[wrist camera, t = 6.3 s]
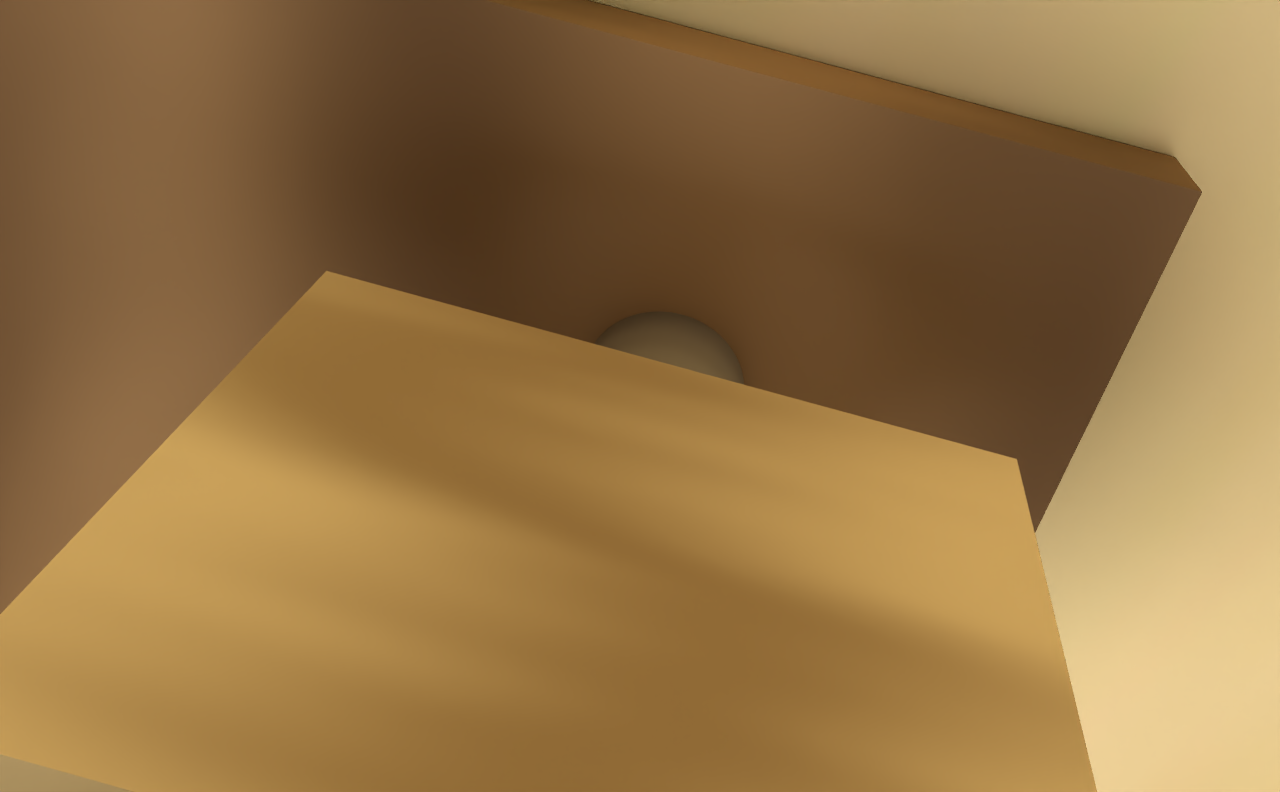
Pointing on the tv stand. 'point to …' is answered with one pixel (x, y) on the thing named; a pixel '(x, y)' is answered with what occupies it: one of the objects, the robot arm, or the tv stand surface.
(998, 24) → the tv stand surface
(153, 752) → the hollow wooden box
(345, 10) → the wooden tray
